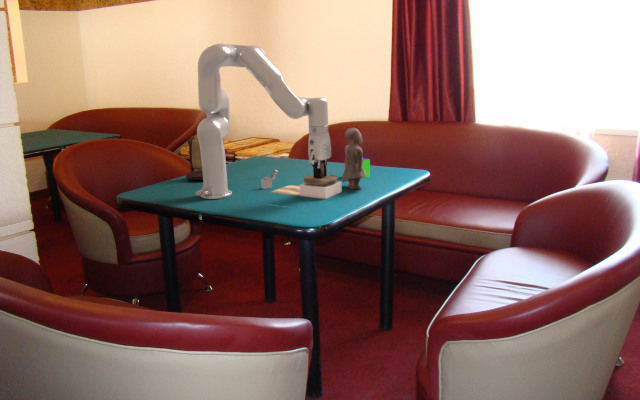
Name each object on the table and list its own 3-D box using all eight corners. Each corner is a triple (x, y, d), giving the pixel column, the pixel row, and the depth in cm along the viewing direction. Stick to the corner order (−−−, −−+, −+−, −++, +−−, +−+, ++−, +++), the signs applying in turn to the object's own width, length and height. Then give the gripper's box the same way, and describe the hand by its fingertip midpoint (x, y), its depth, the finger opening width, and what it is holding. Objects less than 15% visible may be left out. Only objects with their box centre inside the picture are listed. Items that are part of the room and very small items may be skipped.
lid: (325, 185, 213) (325, 166, 211) (297, 182, 220) (296, 164, 218) (342, 178, 224) (342, 160, 222) (315, 175, 230) (314, 158, 229)
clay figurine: (372, 189, 229) (371, 128, 223) (350, 193, 225) (349, 130, 219) (357, 184, 241) (356, 125, 234) (336, 186, 237) (334, 127, 231)
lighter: (263, 190, 236) (262, 171, 234) (261, 189, 237) (260, 170, 235) (278, 188, 238) (277, 169, 237) (277, 187, 240) (276, 168, 238)
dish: (325, 200, 215) (325, 187, 214) (299, 197, 222) (299, 184, 220) (341, 193, 225) (341, 181, 224) (316, 190, 231) (316, 178, 230)
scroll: (180, 182, 257) (176, 138, 252) (195, 175, 271) (191, 133, 266) (210, 182, 254) (206, 138, 249) (223, 175, 268) (220, 133, 263)
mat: (297, 197, 222) (297, 195, 222) (269, 193, 229) (269, 192, 229) (317, 189, 233) (317, 188, 233) (289, 186, 241) (289, 185, 241)
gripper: (315, 133, 208) (316, 182, 213) (337, 128, 221) (339, 173, 226) (298, 132, 212) (300, 180, 217) (321, 127, 225) (323, 172, 230)
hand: (320, 176), depth 221 cm, fingers closed on lid, 3 cm apart
